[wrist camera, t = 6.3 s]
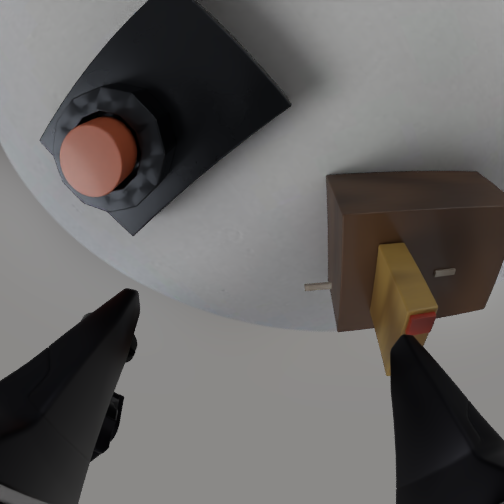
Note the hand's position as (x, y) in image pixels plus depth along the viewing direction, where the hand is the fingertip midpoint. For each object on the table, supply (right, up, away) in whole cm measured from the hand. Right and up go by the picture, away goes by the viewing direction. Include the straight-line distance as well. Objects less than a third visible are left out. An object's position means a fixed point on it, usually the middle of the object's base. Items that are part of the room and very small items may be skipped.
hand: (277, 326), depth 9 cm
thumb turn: (+6, +1, +6) cm, 8 cm away
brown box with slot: (+10, +4, +9) cm, 14 cm away
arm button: (-8, +7, +4) cm, 12 cm away
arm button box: (-6, +10, +6) cm, 14 cm away
